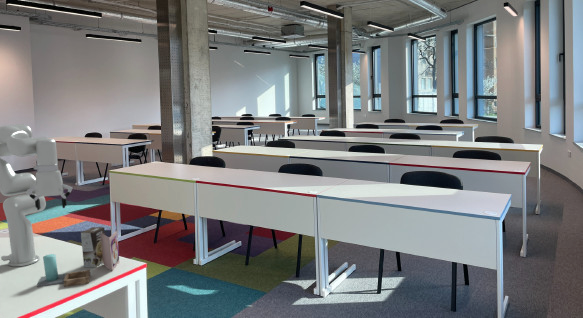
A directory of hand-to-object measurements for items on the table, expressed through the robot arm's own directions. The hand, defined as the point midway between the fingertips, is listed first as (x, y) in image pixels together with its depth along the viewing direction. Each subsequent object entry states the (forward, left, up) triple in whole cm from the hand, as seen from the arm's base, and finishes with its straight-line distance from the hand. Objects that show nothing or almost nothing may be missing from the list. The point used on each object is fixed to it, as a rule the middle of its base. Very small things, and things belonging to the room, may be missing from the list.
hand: (51, 208), depth 201 cm
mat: (-1, -7, -29) cm, 30 cm away
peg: (-2, -7, -29) cm, 29 cm away
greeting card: (+21, 0, -29) cm, 36 cm away
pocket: (+9, -12, -29) cm, 33 cm away
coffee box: (+15, +7, -30) cm, 34 cm away
